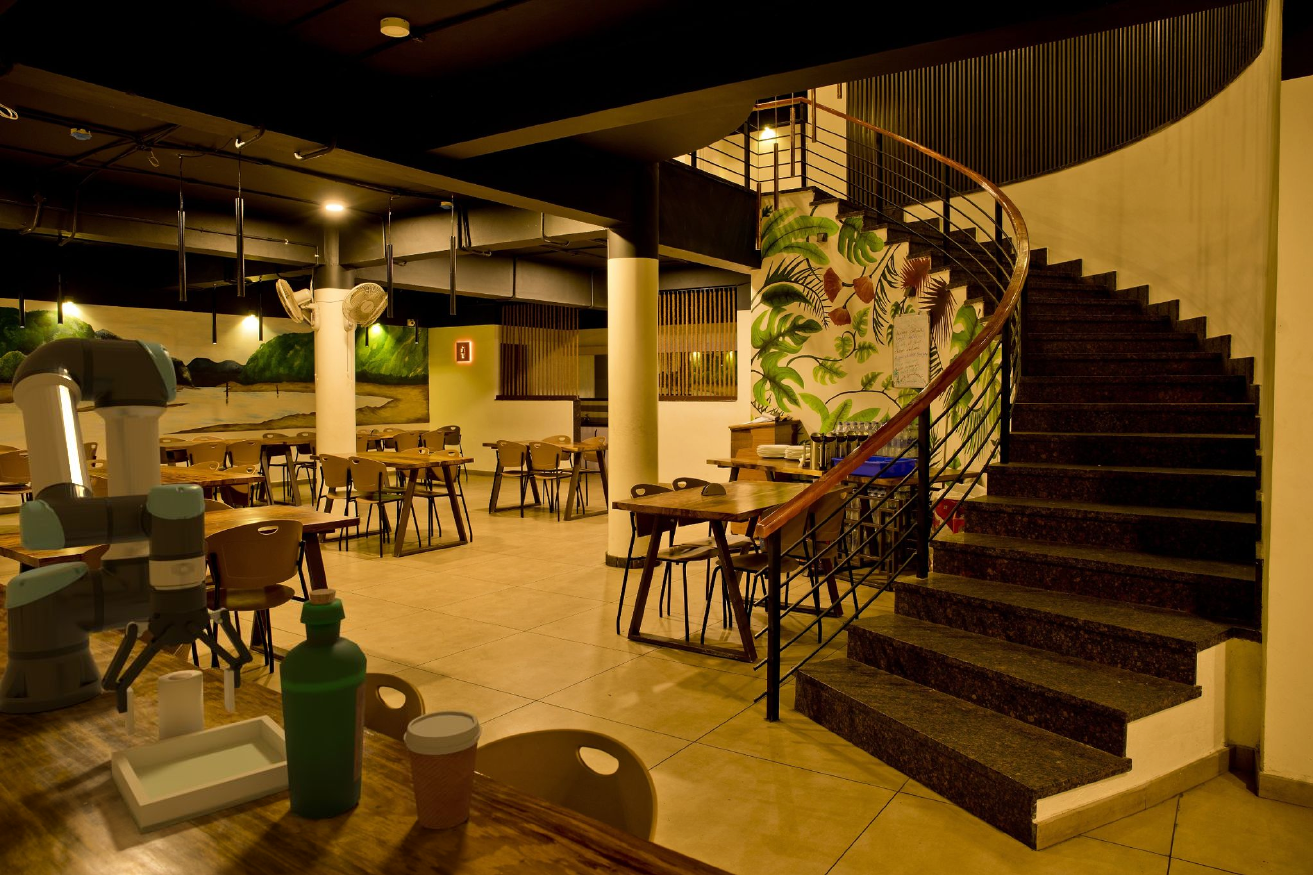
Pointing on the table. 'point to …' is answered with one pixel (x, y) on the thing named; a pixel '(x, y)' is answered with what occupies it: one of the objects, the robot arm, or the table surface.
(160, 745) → the rectangular tray
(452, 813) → the disposable coffee cup
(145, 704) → the table surface
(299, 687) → the bottle
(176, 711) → the kitchen roll
